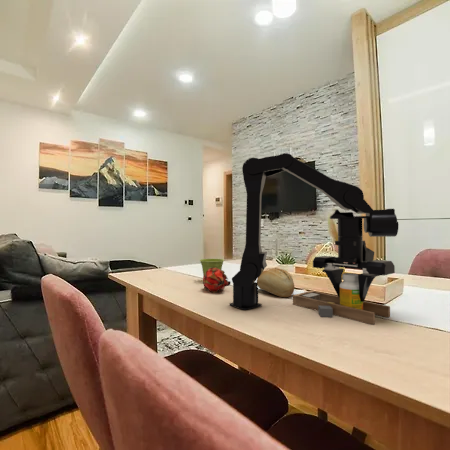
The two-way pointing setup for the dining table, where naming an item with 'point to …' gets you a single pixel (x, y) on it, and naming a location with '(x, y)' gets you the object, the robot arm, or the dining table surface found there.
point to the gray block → (325, 311)
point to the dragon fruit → (215, 279)
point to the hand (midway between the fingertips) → (351, 299)
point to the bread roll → (276, 282)
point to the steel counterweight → (312, 296)
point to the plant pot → (211, 264)
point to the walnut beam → (343, 307)
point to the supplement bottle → (350, 291)
